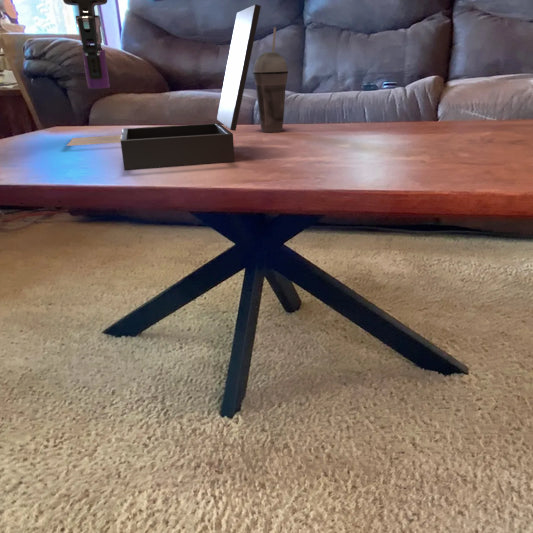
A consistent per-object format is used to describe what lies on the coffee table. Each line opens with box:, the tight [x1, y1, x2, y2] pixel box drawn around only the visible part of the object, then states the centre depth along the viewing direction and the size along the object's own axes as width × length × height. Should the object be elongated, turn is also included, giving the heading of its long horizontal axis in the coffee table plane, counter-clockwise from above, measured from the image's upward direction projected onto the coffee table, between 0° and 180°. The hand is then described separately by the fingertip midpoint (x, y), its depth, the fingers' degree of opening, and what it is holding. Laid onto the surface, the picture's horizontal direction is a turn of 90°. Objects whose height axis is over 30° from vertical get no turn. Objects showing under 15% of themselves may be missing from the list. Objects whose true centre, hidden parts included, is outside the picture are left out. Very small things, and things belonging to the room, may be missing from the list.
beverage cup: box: [252, 26, 289, 133], centre depth 105 cm, size 7×7×20 cm
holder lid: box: [216, 3, 262, 132], centre depth 76 cm, size 16×14×1 cm
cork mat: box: [66, 134, 122, 147], centre depth 100 cm, size 14×14×1 cm
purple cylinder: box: [81, 49, 111, 89], centre depth 95 cm, size 4×4×6 cm
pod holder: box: [120, 122, 235, 171], centre depth 78 cm, size 16×14×5 cm
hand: (97, 77), depth 95 cm, fingers closed on purple cylinder, 4 cm apart
